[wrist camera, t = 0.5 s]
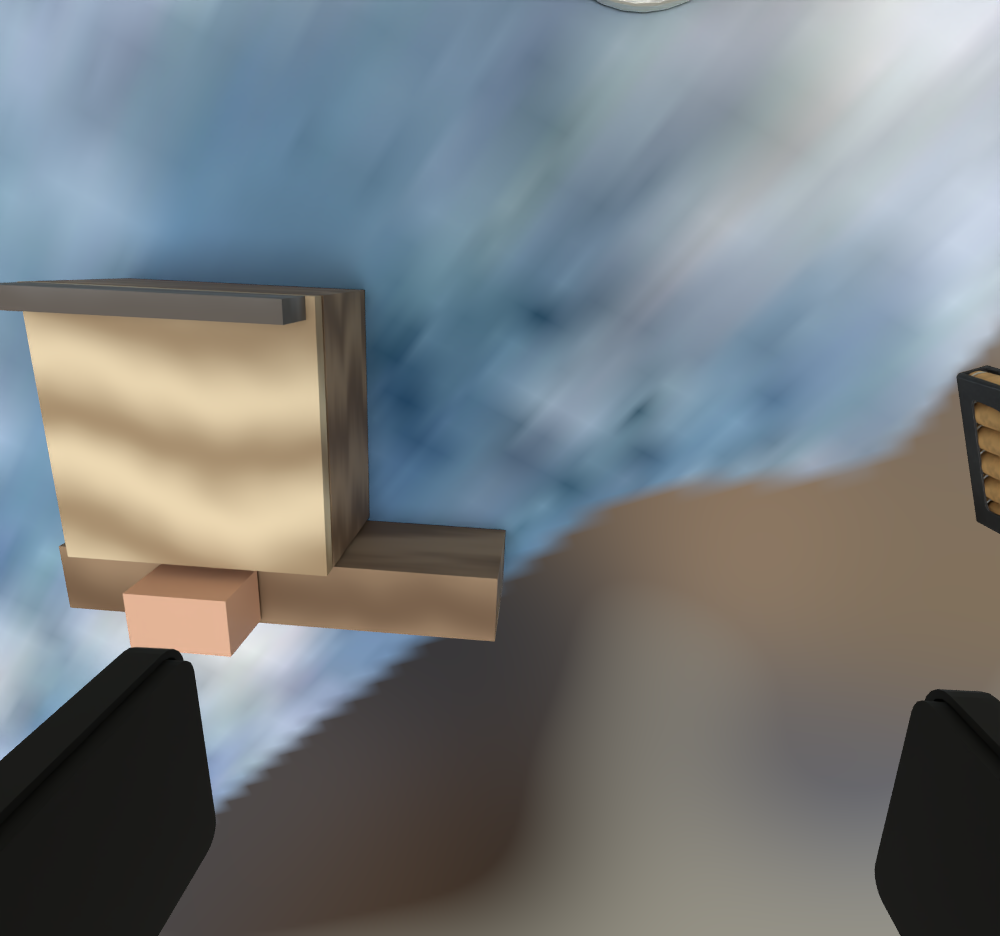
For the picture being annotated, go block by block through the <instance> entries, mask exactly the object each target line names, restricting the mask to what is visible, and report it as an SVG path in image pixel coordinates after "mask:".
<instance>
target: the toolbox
mask: <svg viewBox="0 0 1000 936" xmlns="http://www.w3.org/2000/svg"><path fill="white" fill-rule="evenodd" d="M38 282H58V283H78V284H98V285H118V286H138V287H158V288H178V289H198V290H218V291H238V292H258V293H278V294H298V295H318V296H321V303H322V327H323V351H324V375H325V399H326V423H327V447H328V471H329V495H330V519H331V543H332V567H333V569H332V570H331V571H330V573H329V574H328V576H317V575H304V574H291V573H277V572H264V571H257V579H258V591H259V603H260V615H261V620H260V622H259V623H272V624H284V625H297V626H309V627H322V628H334V629H347V630H359V631H372V632H384V633H397V634H409V635H422V636H434V637H447V638H460V639H472V640H484V641H495V635H496V628H497V621H498V614H499V607H500V600H501V593H502V586H503V570H504V550H505V531H506V530H496V529H481V528H467V527H453V526H439V525H424V524H410V523H396V522H381V521H367V520H368V518H369V473H368V426H367V378H366V331H365V290H355V289H335V288H315V287H294V286H274V285H254V284H233V283H213V282H193V281H173V280H152V279H132V278H123V279H90V280H56V281H38ZM59 549H60V554H61V560H62V565H63V570H64V576H65V581H66V586H67V592H68V597H69V602H70V607H72V608H84V609H97V610H109V611H122V612H125V606H124V600H123V593H124V592H125V591H127V590H128V589H129V588H130V587H132V586H133V585H134V584H136V583H137V582H138V581H140V580H141V579H142V578H143V577H145V576H146V575H147V574H149V573H150V572H151V571H153V570H154V569H155V568H156V567H158V566H159V565H160V564H158V563H145V562H131V561H118V560H105V559H91V558H78V557H68V555H67V549H66V544H65V543H64V544H62V545H61V546H59Z"/></svg>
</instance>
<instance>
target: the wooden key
mask: <svg viewBox="0 0 1000 936" xmlns="http://www.w3.org/2000/svg"><path fill="white" fill-rule="evenodd" d="M123 600H124V606H125V612H126V619H127V625H128V631H129V638H130V644H131V648H132V647H147V648H166V649H175V650H177V651H179V652H181V653H193V654H205V655H217V656H229V657H231V656H232V655H233V654H234V652H235V651H236V650H237V649H238V647H239V646H240V645H241V644H242V642H243V641H244V640H245V639H246V638H247V636H248V635H249V634H250V633H251V631H252V630H253V629H254V628H255V626H256V625H257V624H258V623H259V622H260V620H261V615H260V603H259V591H258V579H257V571H251V570H237V569H224V568H211V567H198V566H184V565H171V564H160V565H159V566H158V567H156V568H155V569H154V570H153V571H151V572H150V573H149V574H147V575H146V576H145V577H143V578H142V579H141V580H140V581H138V582H137V583H136V584H134V585H133V586H132V587H130V588H129V589H128V590H127V591H125V592H124V593H123Z"/></svg>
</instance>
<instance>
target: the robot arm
mask: <svg viewBox="0 0 1000 936" xmlns="http://www.w3.org/2000/svg"><path fill="white" fill-rule="evenodd" d="M596 1H598V2H600V3H601V4H604V5H607V6H610V7H613V8H616V9H620V10H623V11H635V12H650V11H657V10H664V9H668V8H671V7H674V6H677V5H679V4H682V3H685V2H688V1H689V0H596ZM215 826H216V817H215V811H214V804H213V797H212V790H211V783H210V776H209V769H208V762H207V756H206V749H205V742H204V735H203V728H202V721H201V714H200V707H199V701H198V694H197V687H196V680H195V673H194V669H193V666H192V664H191V663H190V662H188V661H183V657H182V655H181V654H180V652H179V651H177V650H175V649H166V648H147V647H132V648H129V649H127V650H126V651H124V652H123V653H122V654H120V655H119V656H118V657H117V658H116V659H115V660H114V661H113V662H111V663H110V664H109V665H108V666H107V667H106V668H105V669H103V670H102V671H101V672H100V673H99V674H98V675H97V676H96V677H94V678H93V679H92V680H91V681H90V682H89V683H88V684H87V685H85V686H84V687H83V688H82V689H81V690H80V691H79V692H77V693H76V694H75V695H74V696H73V697H72V698H71V699H70V700H68V701H67V702H66V703H65V704H64V705H63V706H62V707H60V708H59V709H58V710H57V711H56V712H55V713H54V714H53V715H51V716H50V717H49V718H48V719H47V720H46V721H45V722H43V723H42V724H41V725H40V726H39V727H38V728H37V729H36V730H34V731H33V732H32V733H31V734H30V735H29V736H28V737H27V738H25V739H24V740H23V741H22V742H21V743H20V744H19V745H17V746H16V747H15V748H14V749H13V750H12V751H11V752H10V753H8V754H7V755H6V756H5V757H4V758H3V759H2V760H0V936H158V935H159V933H160V932H161V930H162V928H163V927H164V925H165V923H166V922H167V920H168V918H169V916H170V915H171V913H172V911H173V910H174V908H175V906H176V905H177V903H178V901H179V899H180V898H181V896H182V894H183V893H184V891H185V889H186V887H187V886H188V884H189V883H190V881H191V879H192V878H193V876H194V874H195V872H196V871H197V869H198V867H199V866H200V864H201V862H202V861H203V859H204V857H205V856H206V854H207V852H208V850H209V848H210V846H211V843H212V840H213V837H214V832H215ZM875 880H876V885H877V889H878V892H879V895H880V898H881V900H882V902H883V904H884V906H885V908H886V909H887V911H888V913H889V915H890V917H891V919H892V921H893V922H894V924H895V926H896V928H897V930H898V932H899V934H900V935H901V936H1000V701H999V700H998V699H996V698H995V697H994V696H992V695H991V694H989V693H985V692H979V691H960V690H940V689H937V690H933V691H931V692H930V693H929V694H928V695H927V696H926V699H925V701H918V702H917V703H916V704H915V705H914V707H913V709H912V712H911V716H910V720H909V725H908V729H907V733H906V737H905V741H904V746H903V750H902V754H901V759H900V762H899V767H898V771H897V775H896V779H895V783H894V788H893V792H892V796H891V800H890V804H889V809H888V813H887V817H886V821H885V825H884V830H883V834H882V838H881V842H880V846H879V850H878V855H877V859H876V863H875Z"/></svg>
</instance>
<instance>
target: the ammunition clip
mask: <svg viewBox="0 0 1000 936" xmlns="http://www.w3.org/2000/svg"><path fill="white" fill-rule="evenodd" d="M957 384H958V391H959V398H960V406H961V412H962V419H963V427H964V434H965V441H966V449H967V456H968V463H969V470H970V477H971V485H972V491H973V499H974V506H975V513H976V520H977V522H979V523H981V524H983V525H984V526H986V527H988V528H990V529H992V530H994V531H996V532H997V533H999V534H1000V369H998V368H994V367H991V366H988V365H987V366H983V367H980V368H977V369H973V370H970V371H967V372H963V373H960V374H958V376H957Z"/></svg>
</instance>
